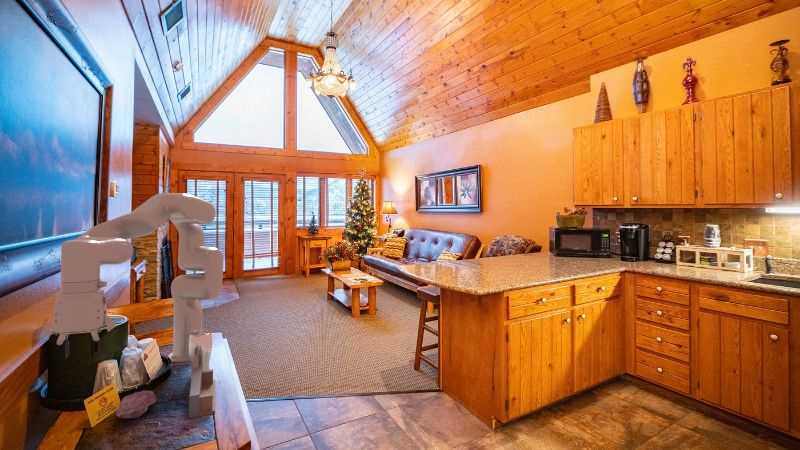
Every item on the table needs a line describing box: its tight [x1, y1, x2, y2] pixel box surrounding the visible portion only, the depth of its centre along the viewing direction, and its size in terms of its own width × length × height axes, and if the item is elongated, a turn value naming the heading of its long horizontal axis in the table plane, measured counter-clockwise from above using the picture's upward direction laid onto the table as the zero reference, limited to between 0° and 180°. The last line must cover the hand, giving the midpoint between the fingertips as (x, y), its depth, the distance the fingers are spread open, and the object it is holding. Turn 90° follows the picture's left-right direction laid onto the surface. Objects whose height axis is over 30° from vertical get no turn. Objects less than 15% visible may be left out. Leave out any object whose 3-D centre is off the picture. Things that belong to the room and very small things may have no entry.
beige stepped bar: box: [188, 366, 216, 419], centre depth 105 cm, size 20×6×6 cm, turn 28°
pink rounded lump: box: [115, 389, 158, 419], centre depth 98 cm, size 8×14×5 cm, turn 22°
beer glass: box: [189, 329, 213, 381], centre depth 119 cm, size 7×7×15 cm
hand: (79, 355), depth 92 cm, fingers open, 5 cm apart
